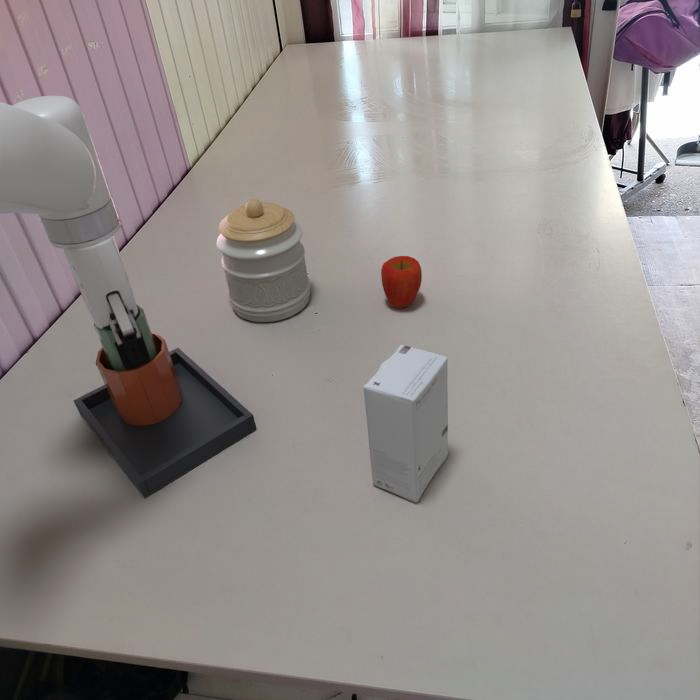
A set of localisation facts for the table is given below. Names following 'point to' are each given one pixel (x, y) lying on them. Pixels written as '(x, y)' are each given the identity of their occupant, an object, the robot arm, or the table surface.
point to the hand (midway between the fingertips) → (130, 350)
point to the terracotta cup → (143, 387)
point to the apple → (401, 280)
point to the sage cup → (108, 337)
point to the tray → (169, 428)
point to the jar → (264, 262)
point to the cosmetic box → (407, 420)
